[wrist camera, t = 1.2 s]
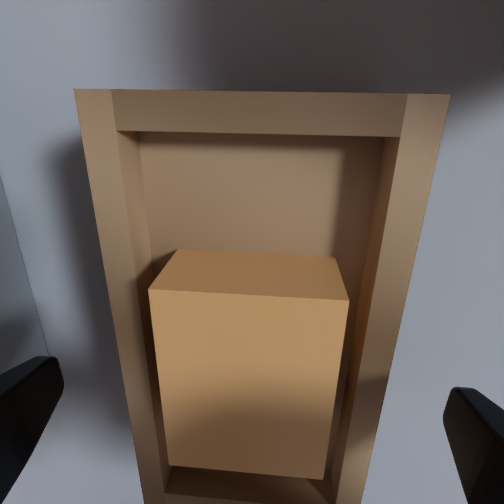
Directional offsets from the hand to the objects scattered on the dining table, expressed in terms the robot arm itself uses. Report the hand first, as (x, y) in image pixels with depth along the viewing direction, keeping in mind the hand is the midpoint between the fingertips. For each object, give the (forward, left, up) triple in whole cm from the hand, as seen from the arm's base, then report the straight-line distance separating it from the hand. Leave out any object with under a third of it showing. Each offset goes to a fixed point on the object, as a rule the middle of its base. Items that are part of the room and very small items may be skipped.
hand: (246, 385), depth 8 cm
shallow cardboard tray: (0, 0, -5) cm, 5 cm away
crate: (0, 0, -2) cm, 2 cm away
